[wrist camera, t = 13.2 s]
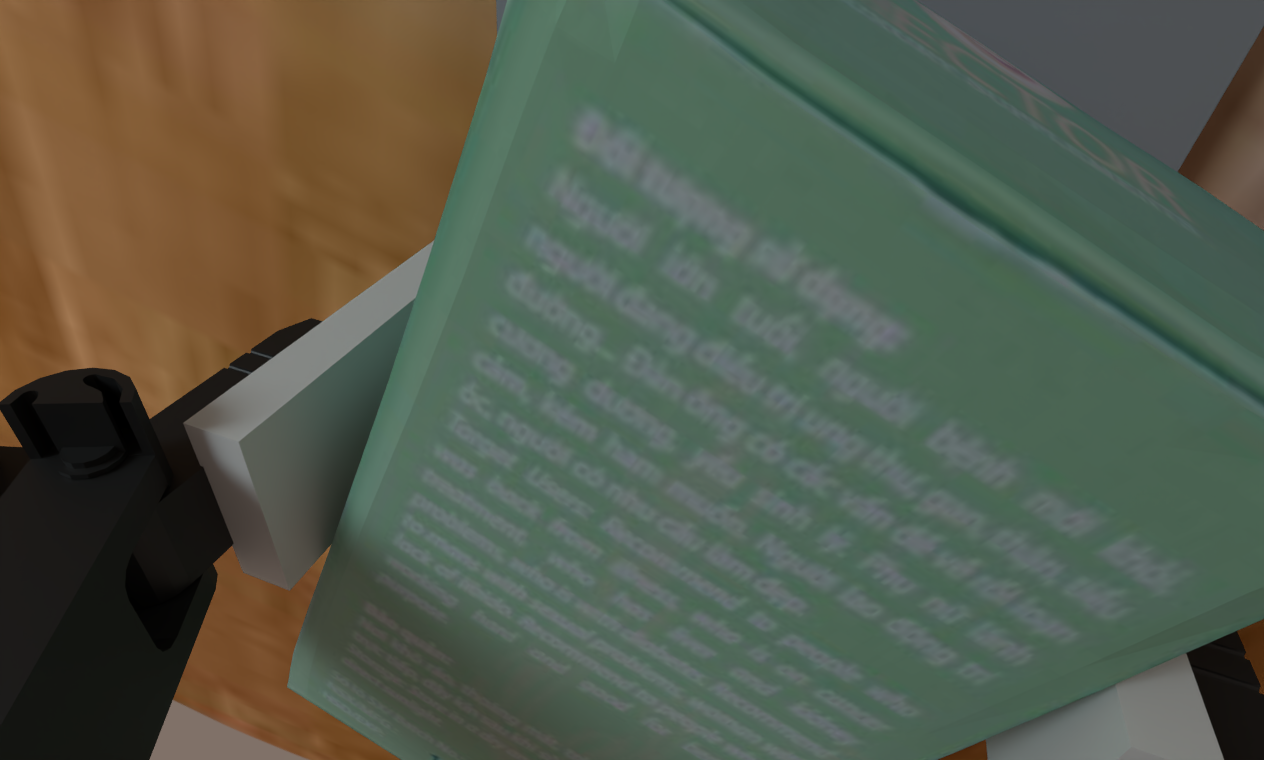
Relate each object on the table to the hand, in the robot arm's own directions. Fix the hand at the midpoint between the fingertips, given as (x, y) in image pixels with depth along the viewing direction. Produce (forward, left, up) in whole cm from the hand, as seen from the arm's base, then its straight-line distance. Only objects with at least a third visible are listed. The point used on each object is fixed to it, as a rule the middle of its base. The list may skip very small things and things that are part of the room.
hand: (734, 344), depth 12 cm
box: (+1, 0, -1) cm, 2 cm away
